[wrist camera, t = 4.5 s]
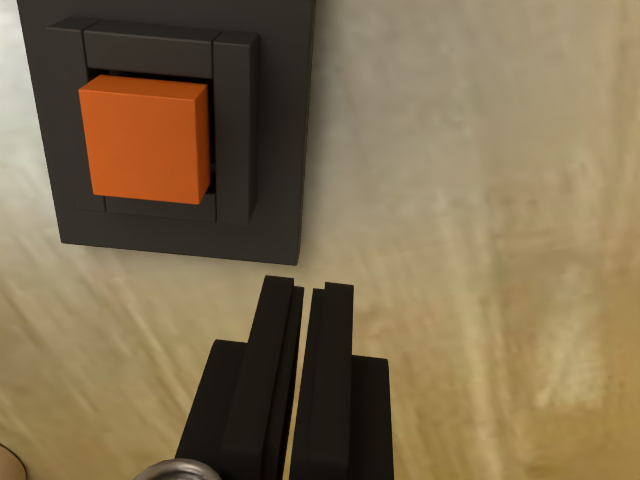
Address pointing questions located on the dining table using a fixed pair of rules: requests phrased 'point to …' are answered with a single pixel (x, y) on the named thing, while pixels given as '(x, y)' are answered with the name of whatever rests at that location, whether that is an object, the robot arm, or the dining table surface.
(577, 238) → the dining table surface
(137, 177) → the enter key
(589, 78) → the dining table surface
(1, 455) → the candle
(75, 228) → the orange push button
